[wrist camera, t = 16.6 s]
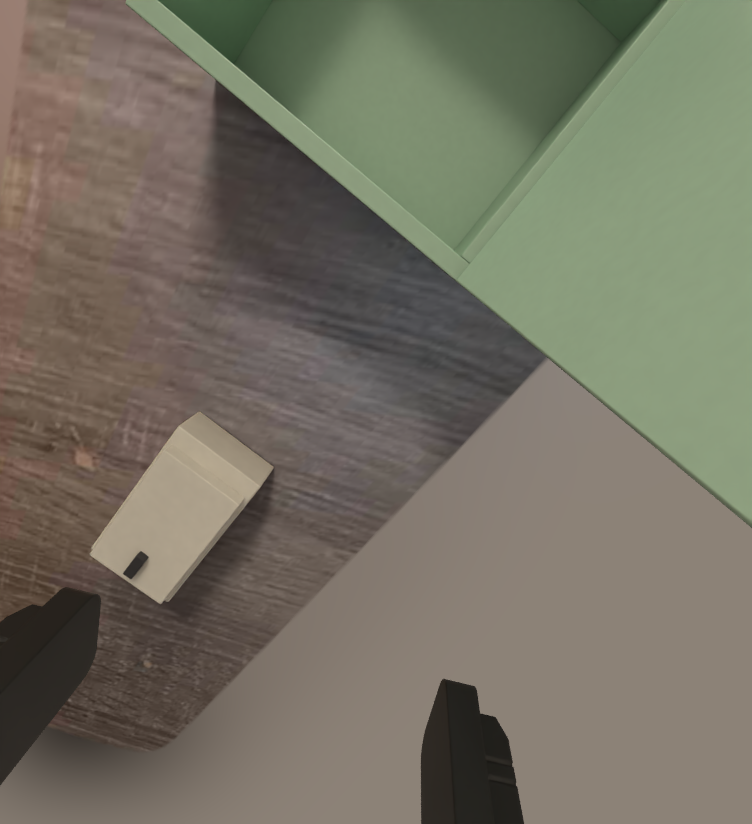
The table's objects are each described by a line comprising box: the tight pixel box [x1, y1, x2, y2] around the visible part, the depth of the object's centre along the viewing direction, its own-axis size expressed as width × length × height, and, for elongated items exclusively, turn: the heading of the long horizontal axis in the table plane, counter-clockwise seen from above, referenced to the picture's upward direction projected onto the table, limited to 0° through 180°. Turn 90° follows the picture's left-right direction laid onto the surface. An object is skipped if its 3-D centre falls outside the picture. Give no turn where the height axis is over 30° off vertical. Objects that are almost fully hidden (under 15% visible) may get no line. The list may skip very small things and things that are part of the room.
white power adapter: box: [90, 412, 274, 604], centre depth 32 cm, size 10×6×4 cm, turn 142°
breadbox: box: [126, 0, 686, 282], centre depth 23 cm, size 16×14×9 cm
